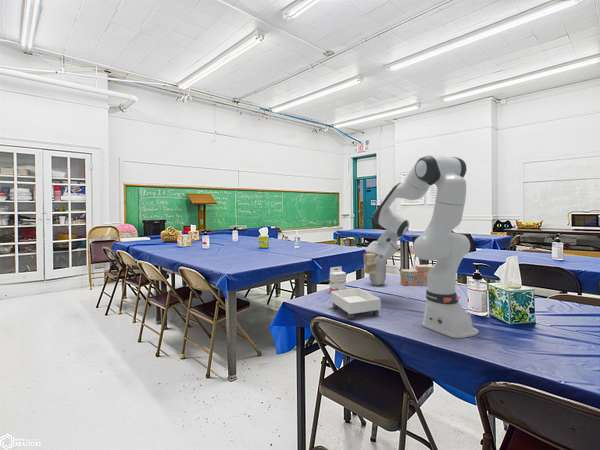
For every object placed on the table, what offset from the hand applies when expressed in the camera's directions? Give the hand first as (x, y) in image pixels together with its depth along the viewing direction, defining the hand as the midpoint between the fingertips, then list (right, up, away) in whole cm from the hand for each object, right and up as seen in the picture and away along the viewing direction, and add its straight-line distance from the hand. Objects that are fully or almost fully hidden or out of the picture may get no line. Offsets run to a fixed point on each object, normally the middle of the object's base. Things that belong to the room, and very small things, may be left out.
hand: (370, 261), depth 172 cm
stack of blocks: (+38, -18, +33) cm, 53 cm away
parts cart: (-11, -23, -14) cm, 28 cm away
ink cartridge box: (-15, -20, +20) cm, 32 cm away
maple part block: (0, -6, 0) cm, 6 cm away
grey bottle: (+12, -19, +34) cm, 41 cm away
